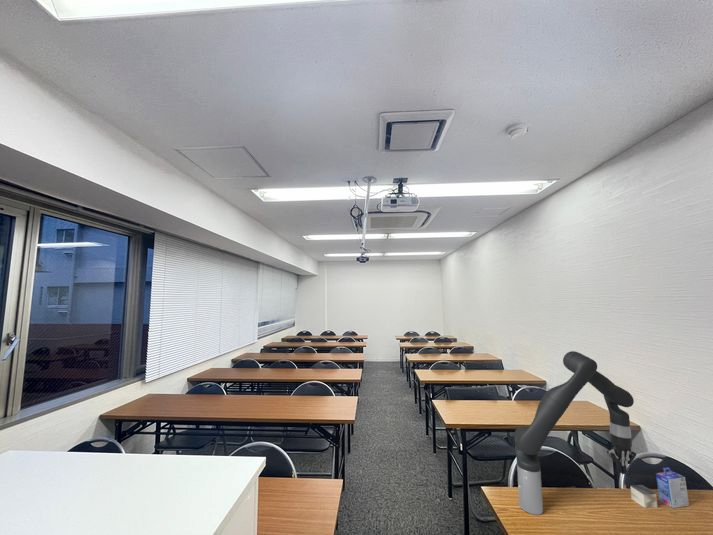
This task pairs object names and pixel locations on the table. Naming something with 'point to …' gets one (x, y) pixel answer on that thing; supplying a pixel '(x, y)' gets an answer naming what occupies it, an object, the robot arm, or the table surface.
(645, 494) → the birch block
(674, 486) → the ink cartridge box
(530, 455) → the robot arm
